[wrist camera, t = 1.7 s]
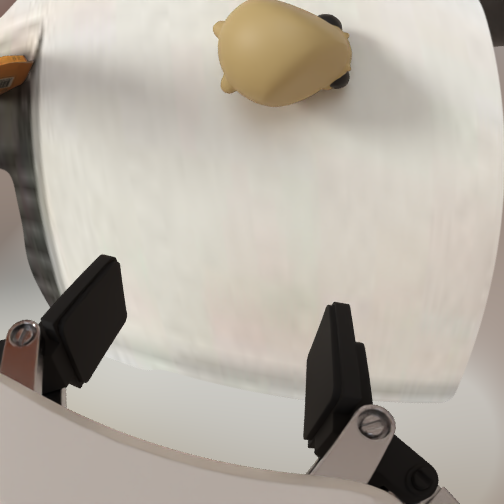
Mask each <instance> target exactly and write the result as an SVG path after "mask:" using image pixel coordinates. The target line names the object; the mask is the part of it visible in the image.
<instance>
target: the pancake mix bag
mask: <svg viewBox="0 0 504 504" xmlns="http://www.w3.org/2000/svg"><path fill="white" fill-rule="evenodd" d="M33 62H34V60H33V61H28V62H27V60H26V58H25V56H3V57H0V95H1V94H3V93H5V92H7V91H8V90H10V89H12V88H14V87H16V86H19V85H21V84H22V83H23V82H24V81H25V79H26V78H27V76H28V74H29V72H30V69H31V67H32V64H33Z"/></svg>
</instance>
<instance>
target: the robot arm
mask: <svg viewBox="0 0 504 504" xmlns="http://www.w3.org/2000/svg"><path fill="white" fill-rule="evenodd" d="M126 318H127V311H126V305H125V298H124V292H123V284H122V277H121V269H120V263H119V262H117V260H116V258H115V257H112V256H107V255H100V256H99V257H98V258H97V259H96V260H95V261H94V262H93V263H92V264H91V265H90V266H89V267H88V268H87V269H86V270H85V271H84V272H83V273H82V274H81V275H80V276H79V277H78V278H77V279H76V280H75V281H74V283H73V284H72V285H71V286H70V287H69V288H68V289H67V290H66V291H65V292H64V293H63V294H62V295H61V297H60V298H59V299H58V300H57V301H56V302H55V303H54V304H53V305H52V306H51V308H50V309H49V310H48V311H47V312H46V314H45V315H44V316H43V317H42V318H41V322H40V323H39V324H37V323H36V322H35V321H32V320H22V321H20V322H17V323H15V324H14V325H13V326H12V327H11V328H10V329H9V331H8V333H7V336H6V339H4V340H1V341H0V504H460V503H459V502H458V501H457V500H456V499H455V498H454V497H453V496H452V495H451V494H450V492H448V490H447V489H446V488H445V487H443V488H440V487H439V486H438V475H437V472H436V470H435V469H434V468H433V467H432V466H431V465H430V464H429V463H428V462H427V461H425V460H424V459H423V458H422V457H420V456H419V455H418V454H417V453H416V452H415V451H413V450H412V449H411V448H410V447H409V446H407V445H406V444H405V443H404V442H403V441H401V440H400V439H399V438H398V437H397V436H396V435H394V433H395V429H396V427H395V421H394V418H393V416H392V415H391V414H390V413H389V411H387V410H386V409H385V408H383V407H381V406H378V405H373V402H372V393H371V386H370V378H369V371H368V365H367V358H366V352H365V347H364V344H363V343H360V342H355V335H354V329H353V322H352V316H351V309H350V305H349V304H344V303H338V302H334V303H333V304H332V305H327V307H326V309H325V312H324V315H323V318H322V320H321V323H320V326H319V328H318V331H317V334H316V336H315V339H314V342H313V344H312V347H311V349H310V352H309V354H308V358H307V371H306V397H305V419H304V434H303V437H304V439H305V440H308V448H315V451H314V453H315V454H316V455H317V456H318V457H319V458H318V459H317V460H316V461H315V463H314V464H313V465H312V467H311V468H310V469H309V470H308V472H307V473H306V474H295V473H287V472H278V471H272V470H266V469H259V468H253V467H247V466H241V465H236V464H231V463H226V462H221V461H217V460H212V459H208V458H203V457H200V456H196V455H192V454H188V453H184V452H181V451H177V450H173V449H170V448H167V447H163V446H160V445H157V444H154V443H151V442H148V441H145V440H142V439H139V438H136V437H133V436H131V435H128V434H125V433H123V432H120V431H117V430H115V429H112V428H110V427H108V426H105V425H103V424H100V423H98V422H96V421H93V420H91V419H89V418H86V417H84V416H82V415H80V414H78V413H76V412H73V411H71V410H69V409H67V408H66V407H67V405H66V387H67V386H68V384H71V385H73V386H76V387H78V388H81V387H82V385H83V383H87V382H88V381H89V379H90V378H91V376H92V374H93V373H94V371H95V369H96V368H97V366H98V364H99V363H100V361H101V359H102V358H103V356H104V355H105V353H106V352H107V350H108V348H109V347H110V345H111V344H112V342H113V341H114V339H115V337H116V336H117V334H118V333H119V331H120V330H121V328H122V327H123V325H124V323H125V322H126Z"/></svg>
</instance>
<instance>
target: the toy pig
mask: <svg viewBox="0 0 504 504" xmlns="http://www.w3.org/2000/svg"><path fill="white" fill-rule="evenodd" d="M213 32H214V34H215V35H216V37H217V38H218V39H219V41H218V55H219V61H220V64H221V67H222V70H223V72H224V75H223V78H222V80H221V89H222V90H223V91H224V92H225V93H228V94H230V93H234V92H235V91H238V92H239V93H240V94H241V95H243V96H244V97H246V98H247V99H249V100H251V101H253V102H256V103H258V104H261V105H265V106H269V107H281V106H286V105H290V104H293V103H296V102H299V101H302V100H304V99H306V98H308V97H310V96H312V95H313V94H315V93H317V92H318V91H320V90H322V89H323V90H330V89H332V88H335V89H338V88H342V87H344V86H346V85H347V83H348V81H349V72H348V71H350V70H351V67H350V63H351V57H352V52H351V47H350V44H349V41H348V37H349V34H348V33H345V32H343V31H342V25H341V23H340V21H339V20H338V19H337V18H336V17H335V16H333V15H329V14H322V15H319V16H316V15H314V14H312V13H310V12H308V11H305V10H303V9H301V8H298V7H296V6H293V5H290V4H287V3H284V2H281V1H278V0H247V1H246V2H244V3H242V4H241V5H239V6H238V7H237V8H236V9H235V10H234V11H233V12H232V13H231V14H230V15H229V16H228V17H227V19H226V21H219V22H217V23H216V24H215V25H214V27H213Z"/></svg>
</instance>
